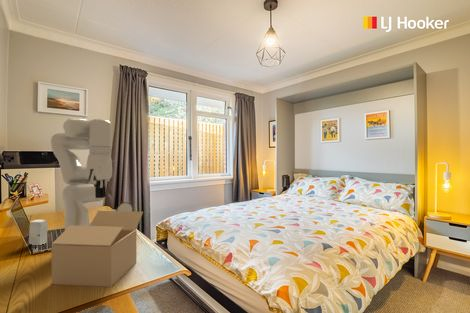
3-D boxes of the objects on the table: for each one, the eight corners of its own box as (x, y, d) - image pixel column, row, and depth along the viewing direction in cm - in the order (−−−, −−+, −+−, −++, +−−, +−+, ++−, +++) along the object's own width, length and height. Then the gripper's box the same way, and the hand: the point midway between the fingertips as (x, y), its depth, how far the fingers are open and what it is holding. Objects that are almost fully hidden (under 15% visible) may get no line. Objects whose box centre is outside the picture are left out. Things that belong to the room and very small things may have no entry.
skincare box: (28, 246, 115) (28, 221, 115) (36, 242, 119) (36, 219, 119) (40, 246, 115) (40, 222, 114) (48, 243, 119) (47, 219, 119)
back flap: (98, 210, 107) (98, 211, 107) (88, 227, 100) (88, 228, 100) (142, 211, 106) (143, 212, 106) (135, 229, 99) (135, 230, 99)
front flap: (52, 244, 82) (52, 243, 82) (70, 226, 90) (70, 225, 90) (110, 246, 81) (109, 245, 81) (122, 227, 89) (122, 226, 89)
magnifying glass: (116, 241, 121) (116, 203, 121) (115, 240, 123) (115, 203, 122) (133, 237, 128) (133, 201, 127) (132, 236, 129) (132, 201, 128)
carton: (51, 284, 82) (51, 244, 82) (86, 260, 100) (86, 228, 100) (111, 286, 81) (111, 246, 81) (136, 262, 99) (136, 229, 99)
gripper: (103, 151, 99) (103, 194, 99) (77, 150, 84) (77, 201, 85) (120, 151, 99) (120, 194, 99) (97, 151, 84) (97, 201, 84)
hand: (100, 197), depth 92 cm, fingers closed
